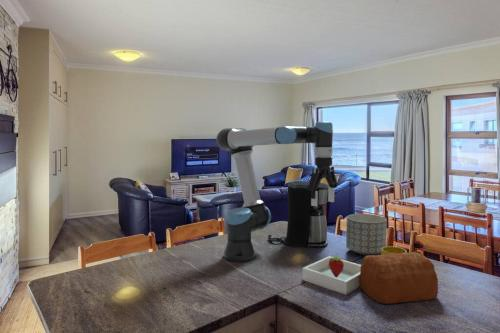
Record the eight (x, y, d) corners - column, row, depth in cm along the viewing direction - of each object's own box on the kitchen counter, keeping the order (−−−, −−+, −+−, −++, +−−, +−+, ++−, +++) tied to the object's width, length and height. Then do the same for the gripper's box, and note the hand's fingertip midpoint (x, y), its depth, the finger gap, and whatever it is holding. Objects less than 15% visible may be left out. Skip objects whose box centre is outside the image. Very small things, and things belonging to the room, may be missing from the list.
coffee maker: (335, 246, 188) (336, 184, 185) (277, 251, 181) (277, 186, 178) (318, 235, 210) (319, 179, 207) (266, 238, 203) (266, 181, 200)
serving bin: (302, 279, 145) (302, 268, 145) (329, 266, 159) (329, 256, 159) (346, 295, 131) (346, 282, 130) (370, 279, 145) (371, 267, 145)
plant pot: (376, 267, 158) (377, 246, 157) (398, 266, 159) (399, 245, 158) (387, 276, 148) (388, 254, 147) (411, 275, 149) (411, 253, 148)
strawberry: (341, 273, 149) (340, 250, 148) (346, 280, 141) (345, 256, 140) (327, 273, 149) (326, 250, 148) (331, 281, 141) (331, 257, 140)
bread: (441, 300, 127) (443, 260, 126) (380, 306, 122) (381, 265, 121) (411, 281, 144) (412, 245, 142) (356, 286, 139) (357, 249, 137)
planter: (389, 251, 180) (390, 216, 179) (380, 262, 164) (381, 224, 163) (352, 245, 190) (352, 212, 189) (341, 255, 175) (341, 219, 173)
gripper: (314, 158, 145) (313, 209, 147) (345, 155, 162) (344, 201, 164) (299, 157, 150) (299, 206, 152) (331, 155, 168) (330, 199, 169)
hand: (322, 203), depth 158 cm, fingers open, 13 cm apart
